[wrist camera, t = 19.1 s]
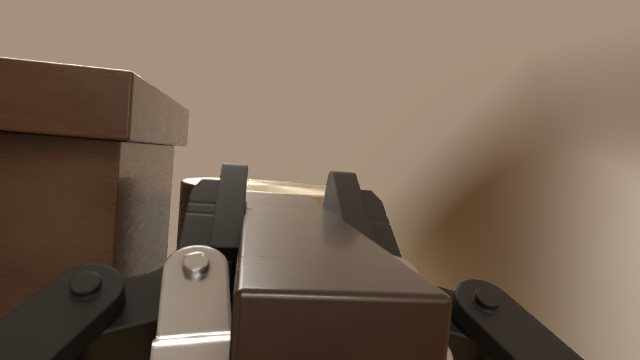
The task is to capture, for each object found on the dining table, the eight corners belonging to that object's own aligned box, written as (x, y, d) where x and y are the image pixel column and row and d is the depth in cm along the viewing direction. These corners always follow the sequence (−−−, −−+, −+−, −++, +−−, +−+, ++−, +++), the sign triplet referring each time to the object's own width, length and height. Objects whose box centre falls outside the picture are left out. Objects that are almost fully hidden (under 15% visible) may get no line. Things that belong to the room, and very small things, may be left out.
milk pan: (-99, 791, 4) (-80, 279, 4) (187, 268, 24) (193, 174, 24) (629, 698, 6) (676, 303, 5) (333, 273, 25) (340, 185, 25)
